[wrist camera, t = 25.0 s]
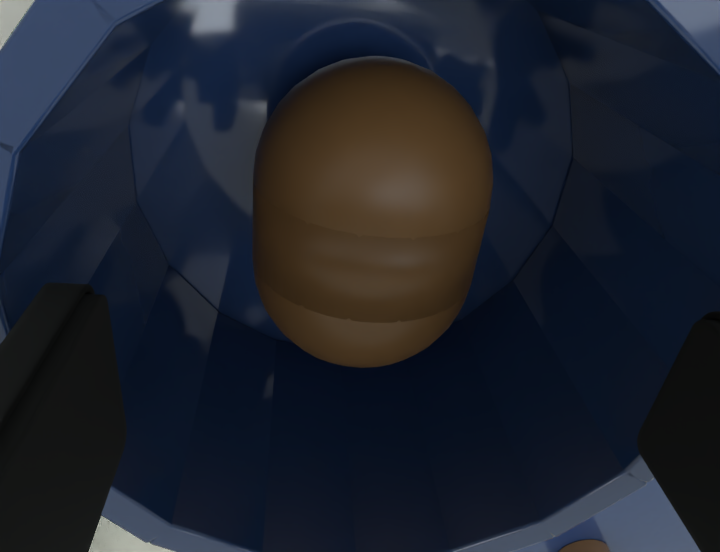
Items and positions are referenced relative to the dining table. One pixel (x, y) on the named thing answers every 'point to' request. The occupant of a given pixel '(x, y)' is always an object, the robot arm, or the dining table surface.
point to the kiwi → (369, 210)
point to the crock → (468, 330)
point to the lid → (626, 528)
